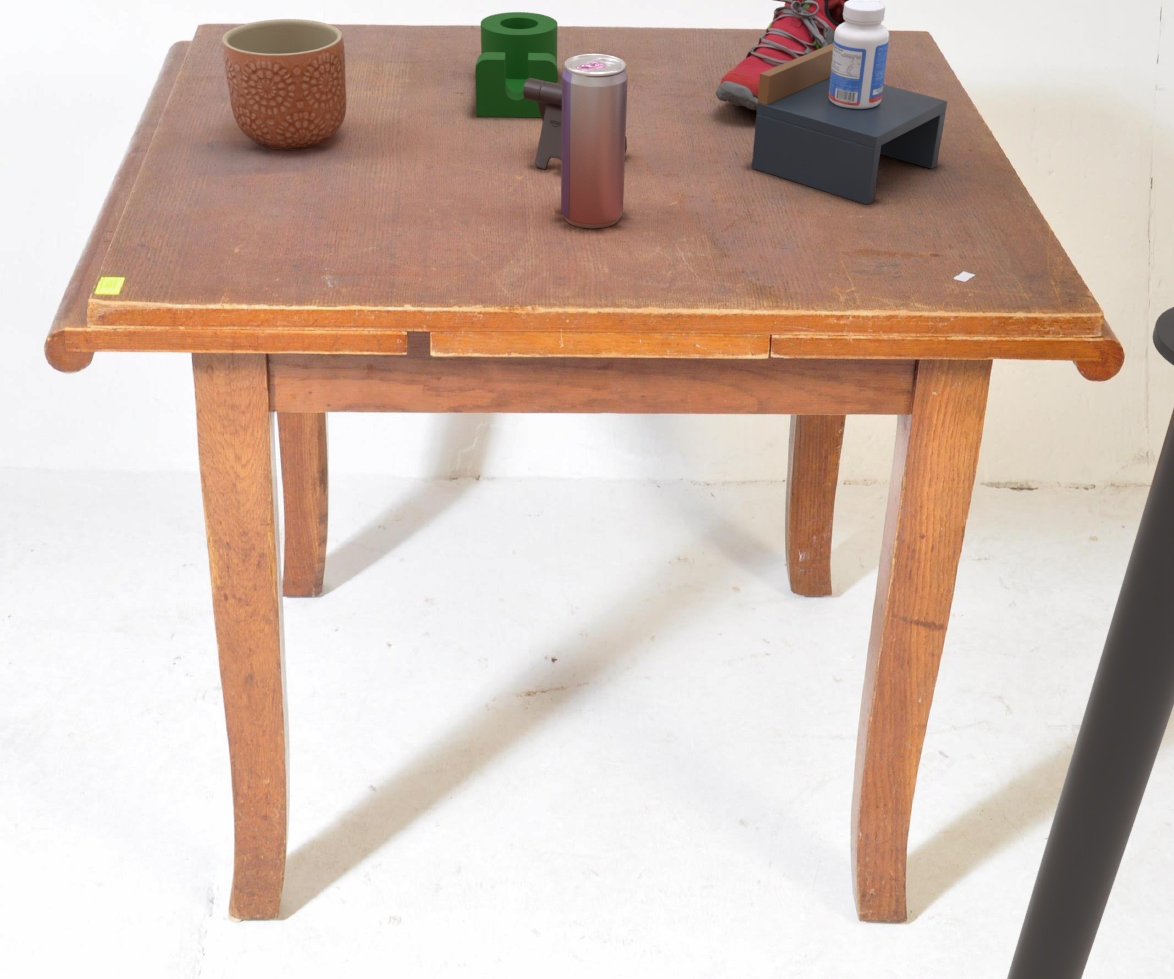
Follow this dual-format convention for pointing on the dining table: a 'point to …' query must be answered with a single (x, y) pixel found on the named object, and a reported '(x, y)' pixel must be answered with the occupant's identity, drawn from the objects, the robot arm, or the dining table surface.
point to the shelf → (838, 129)
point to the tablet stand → (548, 118)
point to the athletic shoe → (782, 45)
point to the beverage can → (593, 140)
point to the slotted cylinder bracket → (514, 62)
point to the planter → (286, 81)
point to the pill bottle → (859, 56)
